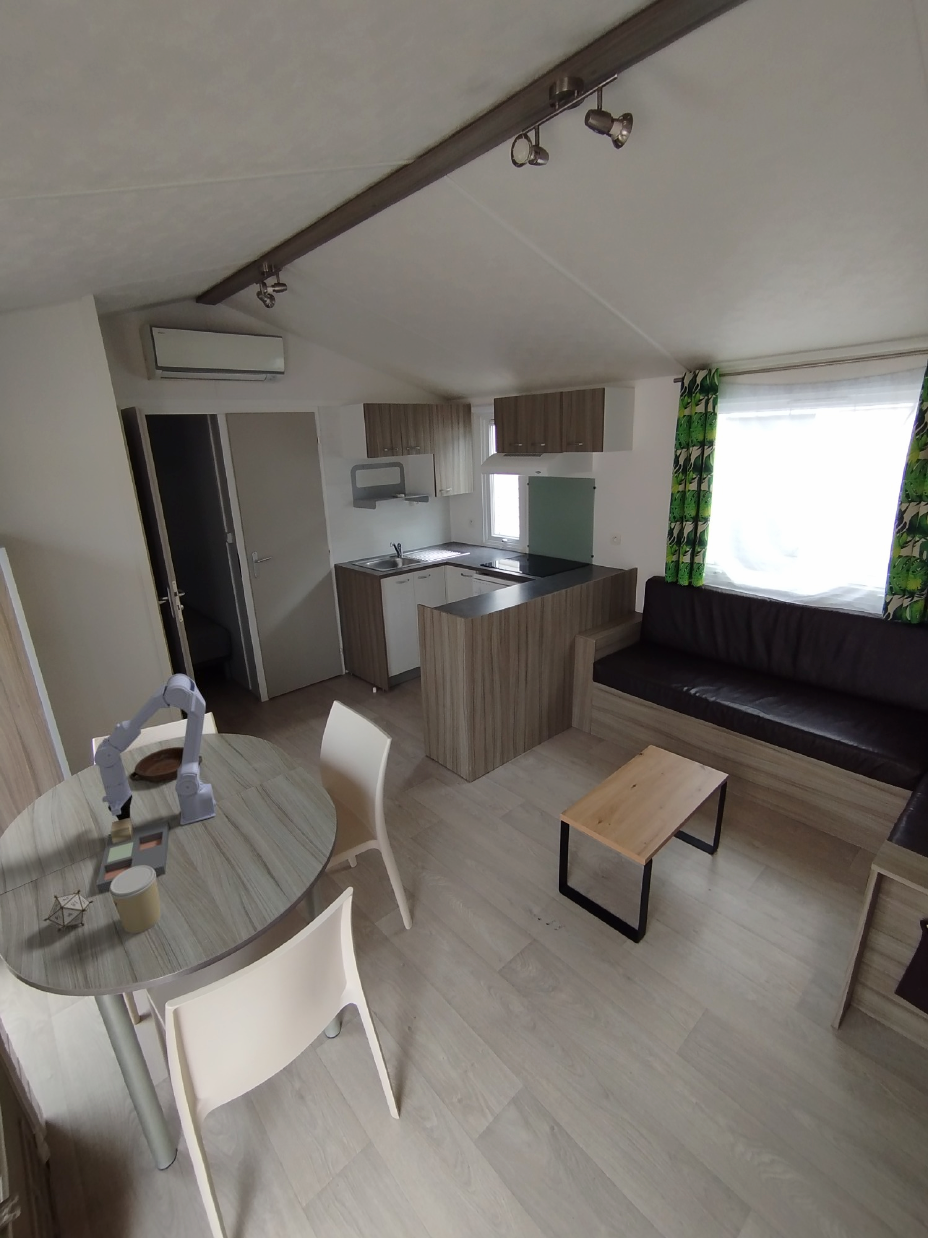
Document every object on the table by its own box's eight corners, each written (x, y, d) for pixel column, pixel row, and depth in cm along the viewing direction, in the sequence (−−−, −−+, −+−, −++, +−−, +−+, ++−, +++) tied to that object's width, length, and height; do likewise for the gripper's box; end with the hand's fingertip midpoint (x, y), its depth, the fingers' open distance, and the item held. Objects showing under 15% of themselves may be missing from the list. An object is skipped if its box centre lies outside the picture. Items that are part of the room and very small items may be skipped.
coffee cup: (131, 906, 137) (121, 866, 133) (171, 902, 137) (161, 862, 134) (112, 938, 128) (100, 896, 124) (154, 934, 128) (144, 892, 125)
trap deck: (169, 826, 165) (167, 819, 164) (165, 873, 147) (163, 865, 146) (110, 841, 159) (108, 834, 159) (98, 893, 141) (96, 885, 140)
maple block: (133, 829, 160) (130, 817, 159) (131, 839, 156) (128, 827, 155) (115, 834, 159) (112, 822, 157) (113, 844, 155) (110, 831, 153)
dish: (130, 771, 194) (127, 758, 193) (199, 751, 205) (196, 739, 204) (132, 796, 180) (129, 783, 179) (206, 774, 191) (203, 761, 189)
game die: (78, 941, 132) (61, 935, 124) (47, 926, 132) (28, 919, 124) (106, 902, 137) (91, 894, 129) (75, 888, 138) (59, 879, 130)
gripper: (102, 772, 163) (113, 811, 167) (94, 799, 150) (105, 841, 155) (130, 766, 166) (140, 805, 170) (124, 792, 153) (134, 834, 157)
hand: (125, 822), depth 162 cm, fingers closed
